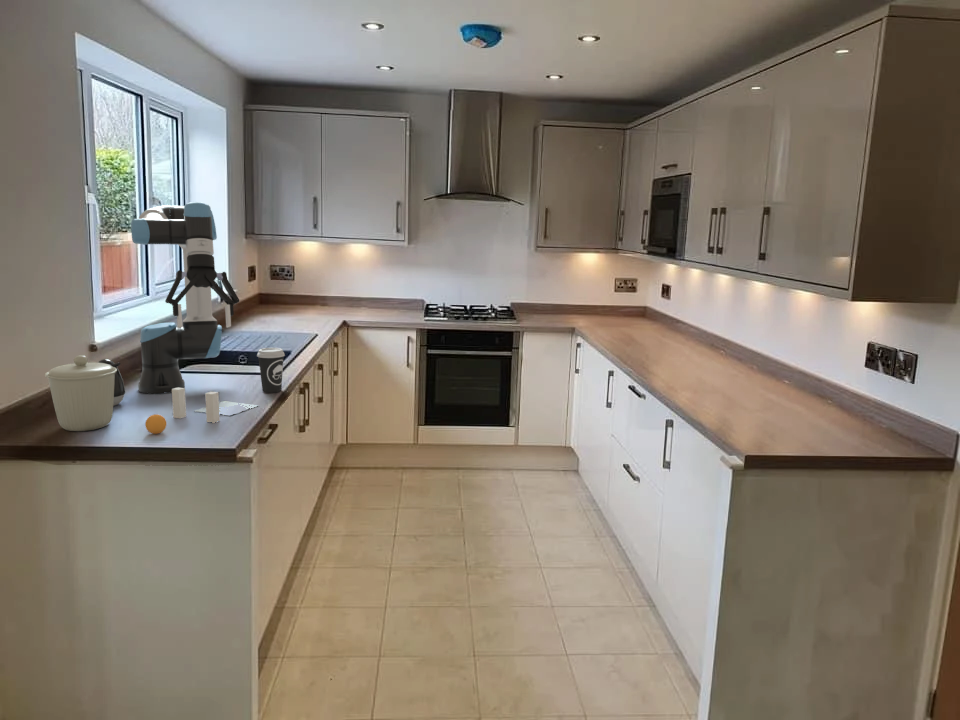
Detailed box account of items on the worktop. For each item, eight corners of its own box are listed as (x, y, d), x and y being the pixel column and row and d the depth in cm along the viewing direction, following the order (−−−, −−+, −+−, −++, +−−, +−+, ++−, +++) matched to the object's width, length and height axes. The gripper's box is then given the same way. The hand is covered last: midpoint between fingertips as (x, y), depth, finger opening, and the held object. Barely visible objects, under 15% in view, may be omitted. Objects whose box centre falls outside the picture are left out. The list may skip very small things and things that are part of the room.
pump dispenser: (111, 410, 226) (108, 362, 223) (83, 407, 228) (79, 360, 225) (133, 402, 236) (130, 357, 233) (105, 400, 238) (102, 355, 235)
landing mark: (223, 401, 240) (223, 400, 240) (258, 406, 235) (258, 405, 235) (194, 411, 227) (194, 410, 227) (230, 416, 222) (230, 415, 222)
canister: (114, 433, 202) (108, 360, 198) (42, 437, 197) (34, 362, 193) (126, 416, 219) (121, 349, 215) (59, 420, 214) (53, 350, 210)
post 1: (179, 415, 222) (177, 387, 220) (186, 416, 221) (184, 388, 219) (173, 417, 219) (171, 389, 218) (180, 418, 218) (178, 389, 217)
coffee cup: (285, 387, 262) (283, 346, 259) (286, 393, 253) (285, 351, 250) (257, 388, 259) (256, 347, 256) (258, 394, 250) (256, 352, 247)
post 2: (212, 420, 217) (211, 391, 216) (219, 421, 217) (218, 392, 215) (206, 422, 215) (205, 393, 213) (213, 423, 214) (212, 394, 212)
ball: (156, 429, 207) (155, 411, 206) (171, 432, 205) (170, 413, 204) (141, 434, 202) (140, 415, 200) (156, 437, 200) (155, 418, 199)
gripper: (156, 250, 200) (161, 325, 199) (246, 254, 214) (251, 324, 213) (152, 256, 206) (156, 329, 205) (240, 260, 220) (244, 328, 219)
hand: (204, 327), depth 209 cm, fingers open, 13 cm apart
